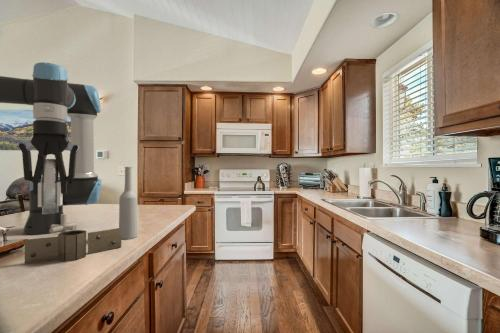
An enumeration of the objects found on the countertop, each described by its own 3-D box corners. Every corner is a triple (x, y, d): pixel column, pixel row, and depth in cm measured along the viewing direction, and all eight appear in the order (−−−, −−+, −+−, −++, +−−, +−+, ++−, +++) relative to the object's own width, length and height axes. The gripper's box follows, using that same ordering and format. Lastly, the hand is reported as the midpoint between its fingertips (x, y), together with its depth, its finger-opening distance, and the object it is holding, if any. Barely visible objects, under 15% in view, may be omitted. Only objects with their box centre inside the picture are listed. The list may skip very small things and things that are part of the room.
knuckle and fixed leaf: (28, 259, 79) (29, 234, 79) (87, 252, 86) (87, 229, 86) (20, 267, 73) (20, 240, 73) (84, 259, 79) (84, 234, 79)
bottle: (128, 234, 108) (128, 166, 109) (140, 236, 106) (141, 166, 106) (115, 238, 102) (115, 166, 102) (128, 240, 100) (128, 166, 100)
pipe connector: (62, 245, 93) (62, 217, 93) (39, 243, 95) (39, 216, 95) (85, 238, 103) (85, 212, 103) (64, 236, 105) (64, 211, 105)
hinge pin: (44, 212, 74) (44, 159, 74) (59, 211, 75) (59, 159, 75) (40, 214, 70) (40, 158, 70) (56, 213, 72) (56, 159, 72)
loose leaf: (88, 253, 84) (88, 233, 84) (87, 253, 84) (87, 232, 84) (121, 247, 91) (121, 228, 91) (120, 246, 91) (120, 227, 91)
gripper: (6, 116, 66) (6, 209, 66) (84, 121, 73) (83, 205, 73) (17, 121, 73) (17, 205, 73) (87, 125, 80) (87, 202, 80)
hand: (50, 205), depth 73 cm, fingers closed on hinge pin, 3 cm apart
